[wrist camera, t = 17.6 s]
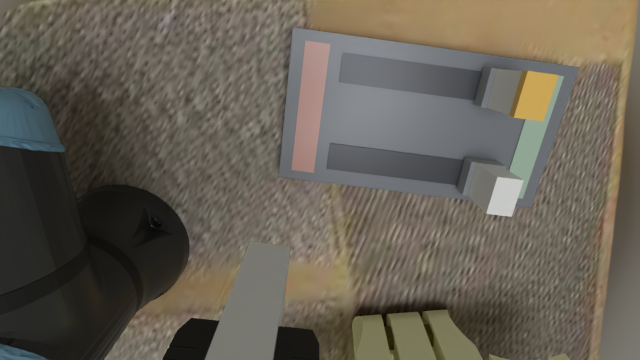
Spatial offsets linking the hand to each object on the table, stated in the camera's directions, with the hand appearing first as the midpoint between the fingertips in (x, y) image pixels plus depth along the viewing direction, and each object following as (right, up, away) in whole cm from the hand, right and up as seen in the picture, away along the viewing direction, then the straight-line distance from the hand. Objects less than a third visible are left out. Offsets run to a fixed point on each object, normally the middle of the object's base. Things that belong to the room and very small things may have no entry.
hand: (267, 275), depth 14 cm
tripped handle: (+19, +13, +22) cm, 32 cm away
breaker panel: (+12, +10, +26) cm, 31 cm away
